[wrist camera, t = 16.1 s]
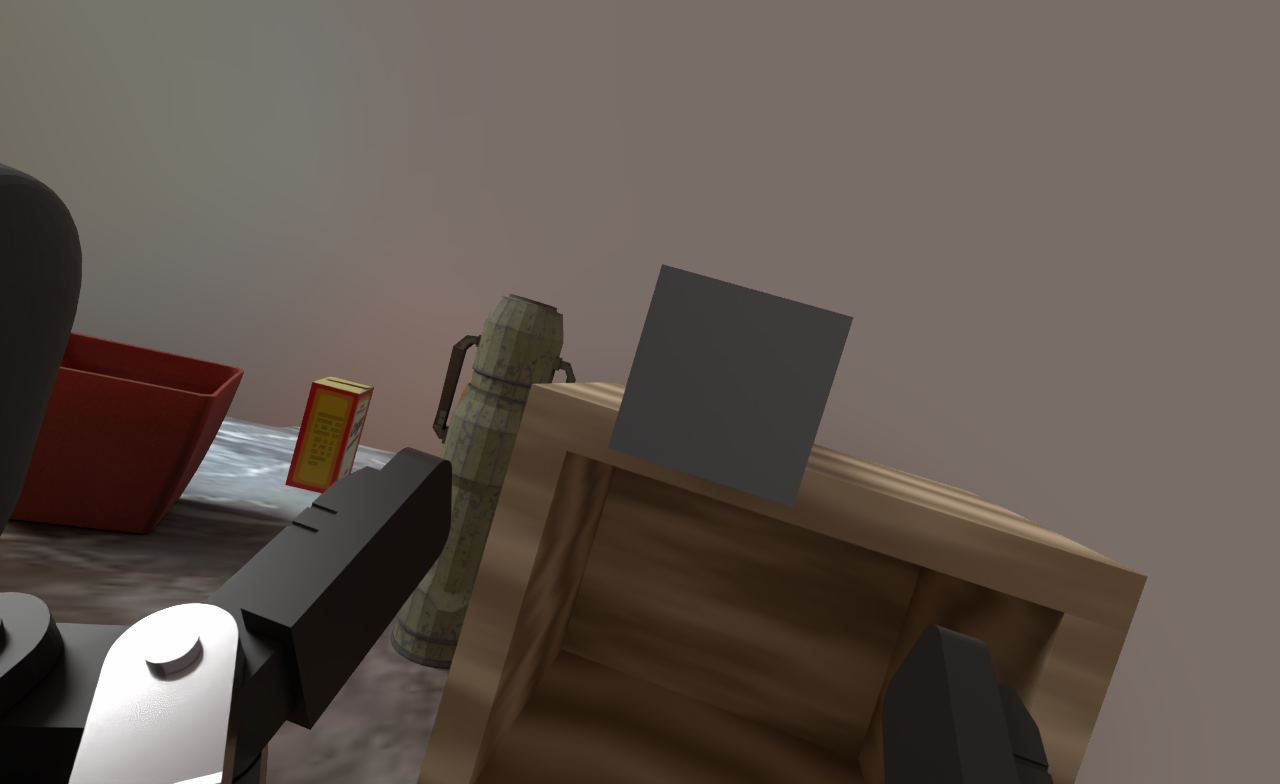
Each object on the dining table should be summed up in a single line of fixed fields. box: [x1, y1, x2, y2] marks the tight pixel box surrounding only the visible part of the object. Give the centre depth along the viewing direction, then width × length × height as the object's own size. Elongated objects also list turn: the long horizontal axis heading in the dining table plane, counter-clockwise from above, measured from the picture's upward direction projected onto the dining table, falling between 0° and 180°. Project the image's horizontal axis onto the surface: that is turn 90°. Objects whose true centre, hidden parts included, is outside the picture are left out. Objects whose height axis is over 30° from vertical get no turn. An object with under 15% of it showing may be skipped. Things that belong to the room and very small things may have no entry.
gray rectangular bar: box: [608, 265, 853, 507], centre depth 26 cm, size 26×5×5 cm, turn 171°
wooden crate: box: [417, 382, 1147, 784], centre depth 32 cm, size 16×22×31 cm
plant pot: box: [9, 332, 244, 533], centre depth 70 cm, size 19×19×17 cm
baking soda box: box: [285, 376, 374, 493], centre depth 99 cm, size 10×6×16 cm
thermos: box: [391, 294, 576, 668], centre depth 63 cm, size 9×12×35 cm
